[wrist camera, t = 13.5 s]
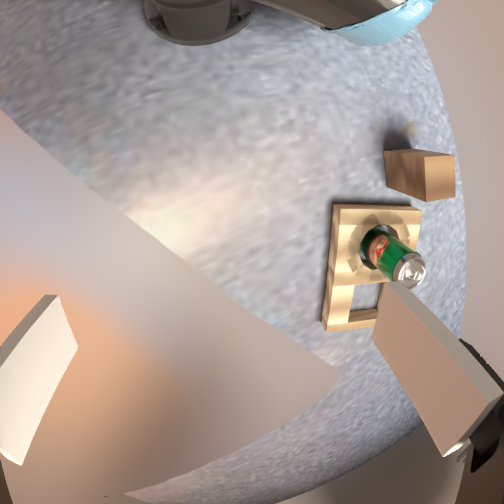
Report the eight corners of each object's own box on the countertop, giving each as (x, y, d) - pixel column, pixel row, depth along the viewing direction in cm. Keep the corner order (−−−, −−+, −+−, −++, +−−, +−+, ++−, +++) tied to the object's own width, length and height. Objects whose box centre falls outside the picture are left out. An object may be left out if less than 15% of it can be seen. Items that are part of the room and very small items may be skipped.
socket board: (333, 204, 38) (340, 209, 36) (411, 206, 39) (421, 210, 37) (321, 321, 46) (326, 332, 43) (390, 312, 47) (398, 321, 44)
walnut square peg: (383, 150, 36) (424, 156, 27) (411, 148, 36) (454, 155, 27) (386, 187, 38) (426, 202, 29) (414, 183, 38) (455, 196, 29)
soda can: (364, 220, 40) (408, 250, 29) (389, 230, 41) (434, 261, 30) (351, 250, 41) (389, 288, 30) (376, 259, 42) (416, 296, 31)
